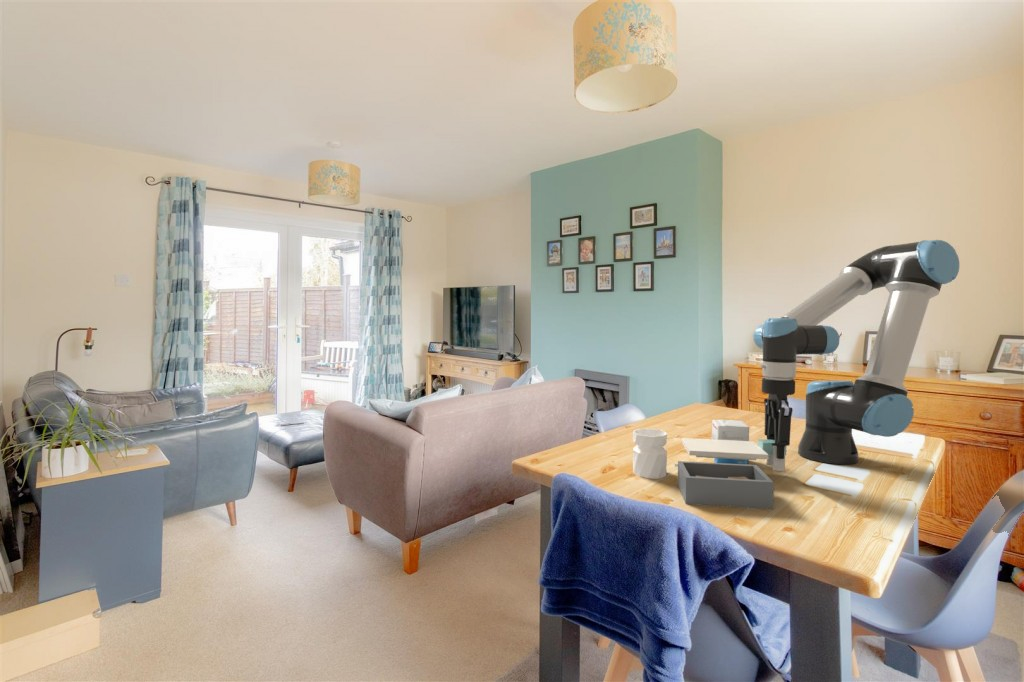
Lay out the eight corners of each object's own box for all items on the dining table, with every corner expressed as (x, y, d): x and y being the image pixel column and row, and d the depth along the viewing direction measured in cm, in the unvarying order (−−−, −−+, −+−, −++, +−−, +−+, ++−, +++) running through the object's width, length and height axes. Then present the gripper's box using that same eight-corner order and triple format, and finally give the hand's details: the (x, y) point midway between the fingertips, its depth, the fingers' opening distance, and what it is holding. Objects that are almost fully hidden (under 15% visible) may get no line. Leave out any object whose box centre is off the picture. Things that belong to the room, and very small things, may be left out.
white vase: (657, 470, 133) (657, 427, 133) (672, 481, 125) (673, 435, 124) (627, 472, 132) (627, 429, 131) (641, 483, 123) (641, 437, 122)
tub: (755, 493, 116) (756, 464, 115) (772, 514, 104) (773, 482, 104) (677, 488, 119) (677, 461, 119) (685, 508, 107) (686, 477, 107)
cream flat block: (775, 450, 131) (775, 435, 130) (792, 464, 118) (793, 448, 118) (681, 445, 135) (681, 431, 135) (689, 459, 123) (689, 443, 123)
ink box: (749, 467, 135) (750, 426, 135) (716, 465, 137) (717, 425, 136) (741, 458, 144) (741, 420, 143) (710, 456, 145) (711, 418, 145)
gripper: (752, 373, 132) (750, 457, 134) (773, 382, 116) (770, 477, 117) (782, 374, 131) (779, 459, 132) (807, 383, 115) (804, 479, 116)
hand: (775, 467), depth 125 cm, fingers closed on cream flat block, 4 cm apart
